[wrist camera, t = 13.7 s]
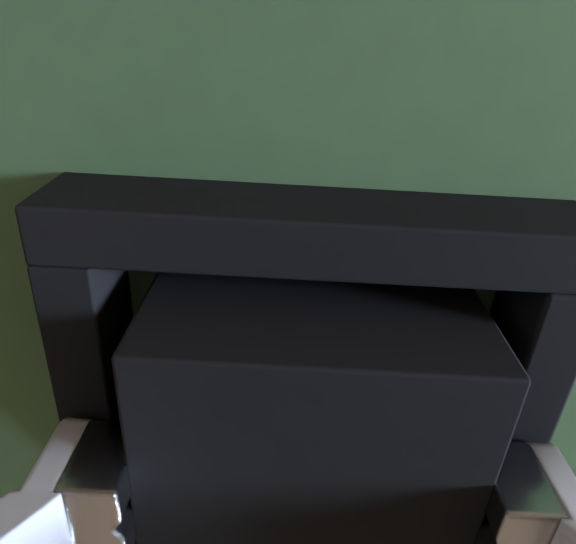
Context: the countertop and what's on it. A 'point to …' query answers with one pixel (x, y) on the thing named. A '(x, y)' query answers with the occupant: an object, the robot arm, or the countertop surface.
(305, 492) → the plug
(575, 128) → the socket mat
